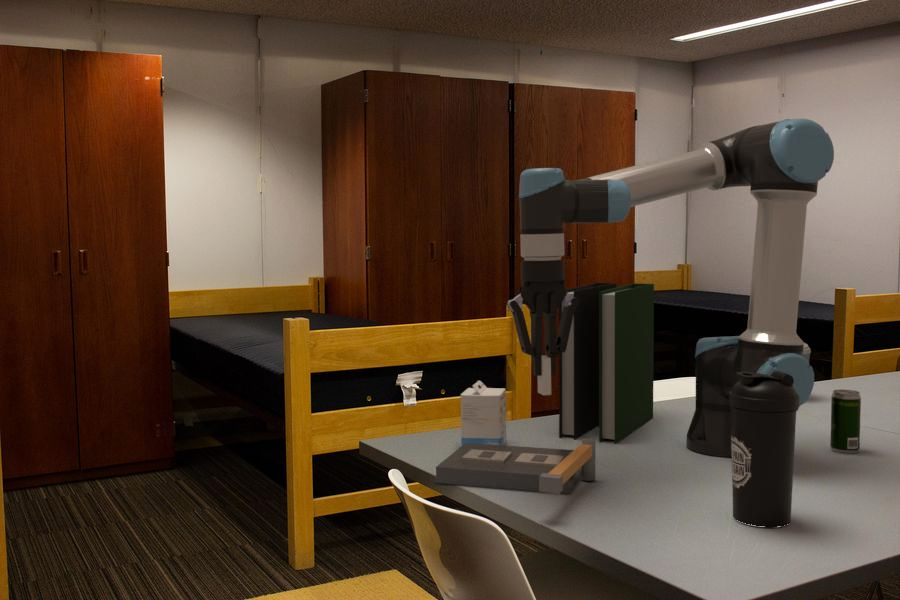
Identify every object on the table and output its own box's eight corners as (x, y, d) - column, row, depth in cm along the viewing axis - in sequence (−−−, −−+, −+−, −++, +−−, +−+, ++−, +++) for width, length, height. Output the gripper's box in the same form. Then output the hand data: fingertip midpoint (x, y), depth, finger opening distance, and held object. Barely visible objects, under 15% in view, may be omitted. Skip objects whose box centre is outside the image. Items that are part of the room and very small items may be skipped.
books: (619, 444, 181) (619, 292, 178) (553, 437, 188) (552, 290, 185) (653, 418, 205) (653, 283, 202) (593, 412, 212) (593, 282, 209)
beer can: (865, 452, 172) (867, 393, 171) (844, 455, 170) (846, 395, 169) (844, 446, 177) (846, 388, 176) (824, 448, 175) (825, 390, 174)
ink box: (501, 451, 177) (500, 387, 176) (460, 450, 178) (460, 386, 177) (506, 441, 185) (506, 379, 184) (468, 440, 187) (467, 378, 186)
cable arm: (581, 476, 158) (581, 437, 157) (599, 478, 156) (599, 438, 156) (539, 519, 135) (539, 474, 134) (559, 522, 133) (559, 476, 133)
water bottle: (716, 509, 139) (718, 368, 137) (778, 507, 140) (780, 366, 138) (743, 531, 129) (745, 379, 127) (809, 528, 130) (812, 377, 128)
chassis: (585, 466, 165) (585, 448, 165) (568, 494, 148) (568, 474, 148) (465, 457, 173) (465, 440, 172) (436, 483, 156) (435, 464, 155)
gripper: (569, 256, 154) (571, 387, 156) (499, 259, 151) (502, 392, 153) (586, 258, 147) (587, 394, 149) (513, 260, 144) (516, 400, 146)
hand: (544, 393), depth 151 cm, fingers closed
